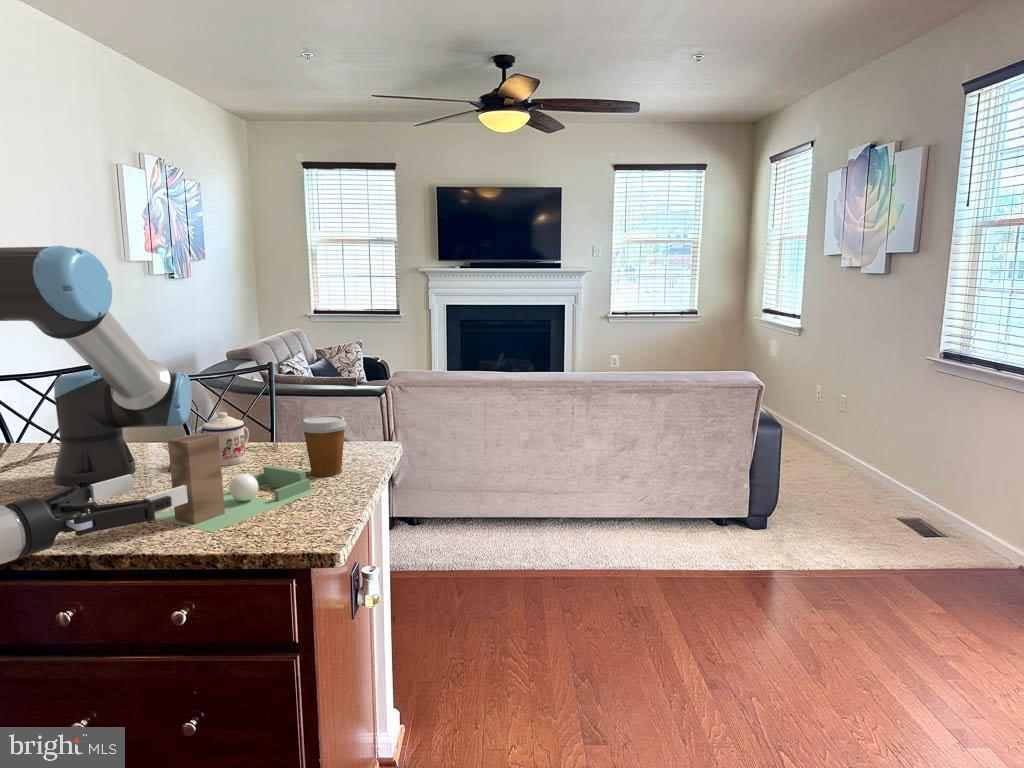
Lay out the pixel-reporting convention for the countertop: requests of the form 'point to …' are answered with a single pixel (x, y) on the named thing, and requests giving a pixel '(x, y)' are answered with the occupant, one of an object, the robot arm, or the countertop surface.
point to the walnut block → (197, 476)
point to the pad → (254, 499)
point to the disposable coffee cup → (325, 443)
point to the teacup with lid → (229, 438)
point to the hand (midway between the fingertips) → (158, 487)
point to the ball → (243, 487)
